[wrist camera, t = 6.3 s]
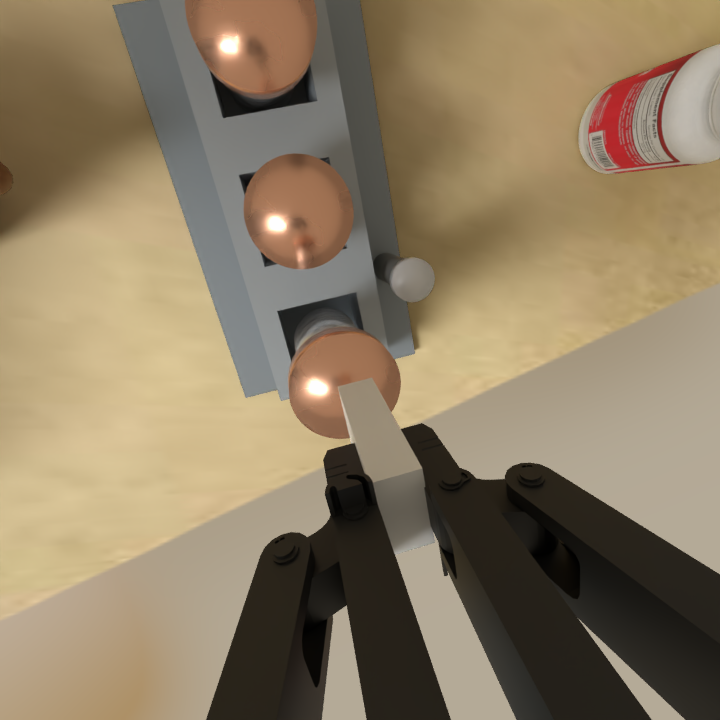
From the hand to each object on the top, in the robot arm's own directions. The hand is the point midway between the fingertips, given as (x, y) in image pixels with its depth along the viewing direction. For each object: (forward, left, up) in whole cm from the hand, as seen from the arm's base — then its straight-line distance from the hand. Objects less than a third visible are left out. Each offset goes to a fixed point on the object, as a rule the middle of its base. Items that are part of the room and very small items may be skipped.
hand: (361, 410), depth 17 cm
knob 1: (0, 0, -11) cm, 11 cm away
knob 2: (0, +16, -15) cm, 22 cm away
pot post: (+6, +3, -15) cm, 16 cm away
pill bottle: (+25, +9, -16) cm, 31 cm away
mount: (0, +8, -16) cm, 17 cm away
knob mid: (0, +8, -15) cm, 17 cm away
